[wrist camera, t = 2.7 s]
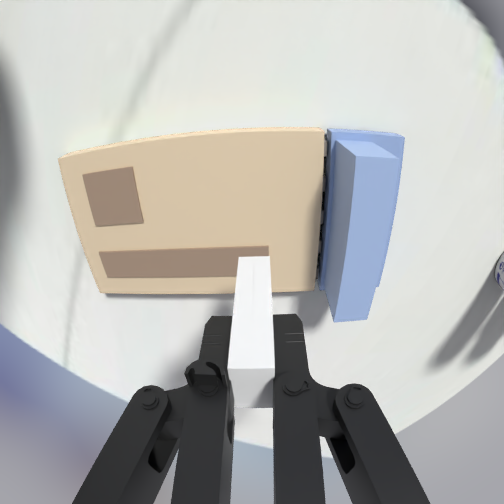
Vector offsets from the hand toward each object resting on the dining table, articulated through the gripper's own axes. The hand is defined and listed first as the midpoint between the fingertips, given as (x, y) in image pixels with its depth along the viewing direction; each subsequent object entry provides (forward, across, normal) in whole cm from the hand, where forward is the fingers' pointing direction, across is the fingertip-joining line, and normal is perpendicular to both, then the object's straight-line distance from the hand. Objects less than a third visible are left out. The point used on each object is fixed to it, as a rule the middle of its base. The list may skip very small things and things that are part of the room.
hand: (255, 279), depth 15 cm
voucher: (+7, -5, 0) cm, 9 cm away
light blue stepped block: (+7, +7, 0) cm, 10 cm away
